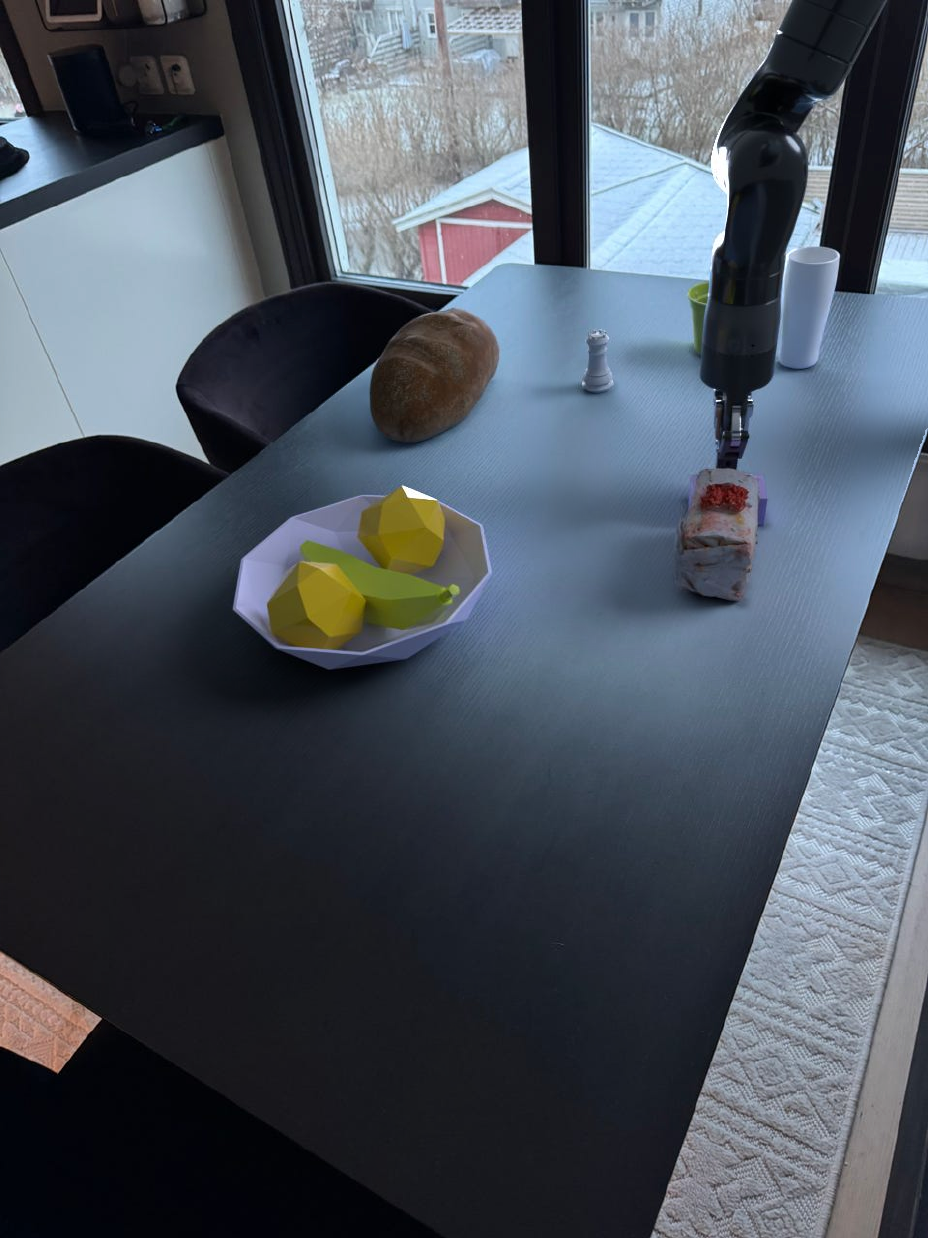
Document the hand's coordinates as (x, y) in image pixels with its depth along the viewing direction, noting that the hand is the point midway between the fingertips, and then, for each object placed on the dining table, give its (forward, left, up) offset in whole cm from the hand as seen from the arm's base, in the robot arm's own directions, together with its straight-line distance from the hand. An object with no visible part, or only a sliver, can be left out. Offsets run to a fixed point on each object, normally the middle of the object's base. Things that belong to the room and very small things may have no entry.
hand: (724, 479), depth 102 cm
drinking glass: (-12, -34, -2) cm, 36 cm away
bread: (+39, -25, -2) cm, 46 cm away
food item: (+2, +15, -2) cm, 15 cm away
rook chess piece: (+16, -27, -2) cm, 32 cm away
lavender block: (0, +4, -2) cm, 5 cm away
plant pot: (-1, -38, -2) cm, 39 cm away
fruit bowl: (+37, +24, -2) cm, 44 cm away
